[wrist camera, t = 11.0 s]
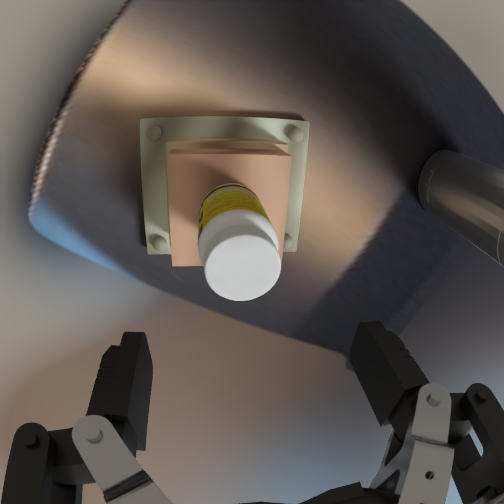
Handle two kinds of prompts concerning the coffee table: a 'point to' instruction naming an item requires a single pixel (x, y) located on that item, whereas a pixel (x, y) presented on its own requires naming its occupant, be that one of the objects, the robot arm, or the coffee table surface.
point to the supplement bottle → (237, 243)
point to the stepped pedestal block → (218, 175)
